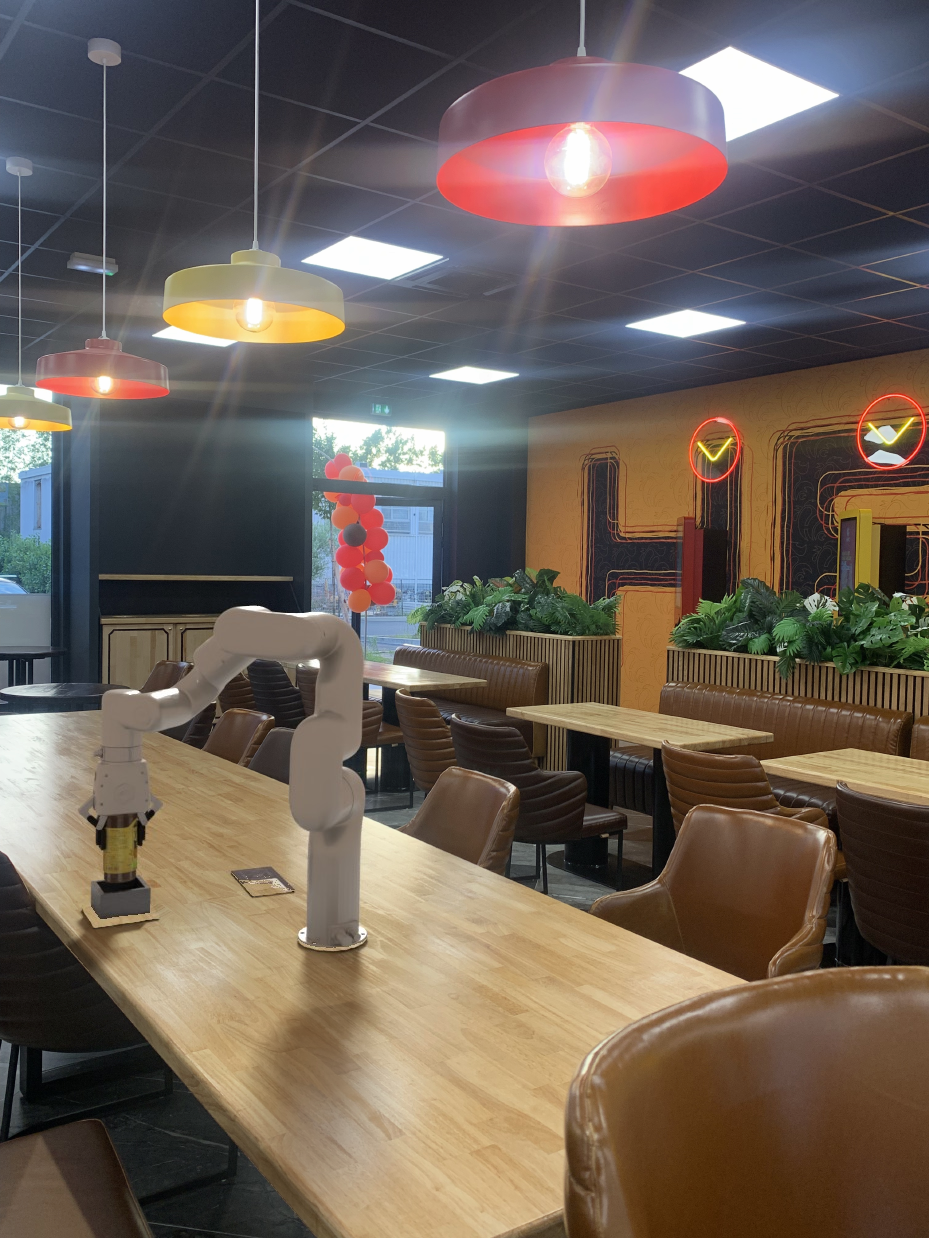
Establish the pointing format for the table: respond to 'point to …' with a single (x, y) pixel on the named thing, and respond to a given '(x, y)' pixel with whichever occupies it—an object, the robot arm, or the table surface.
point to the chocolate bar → (262, 877)
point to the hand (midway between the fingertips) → (120, 845)
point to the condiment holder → (120, 898)
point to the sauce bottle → (120, 848)
